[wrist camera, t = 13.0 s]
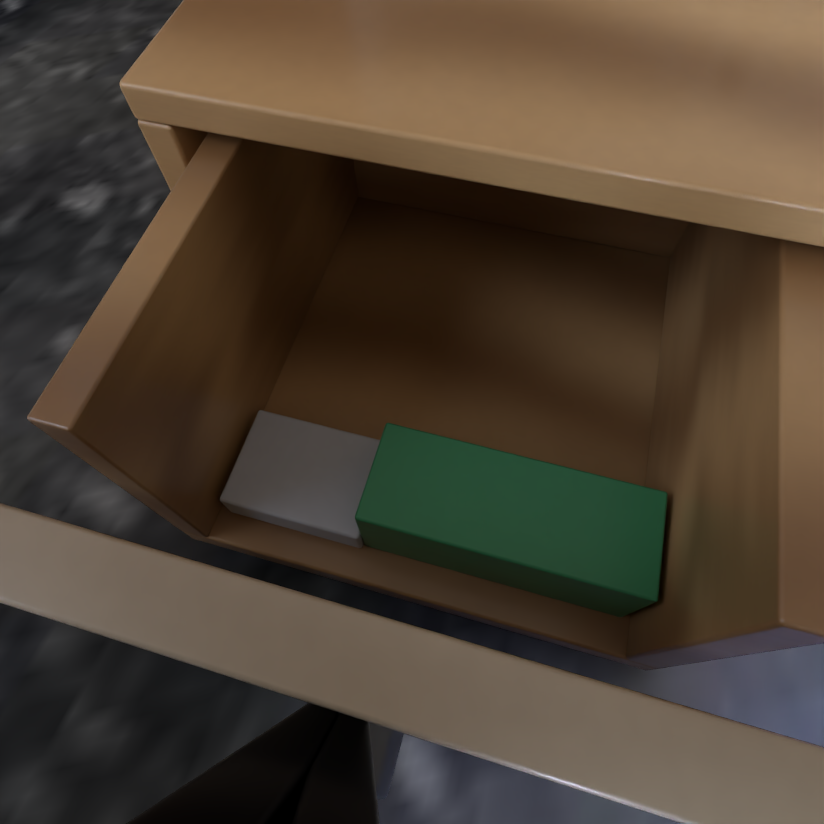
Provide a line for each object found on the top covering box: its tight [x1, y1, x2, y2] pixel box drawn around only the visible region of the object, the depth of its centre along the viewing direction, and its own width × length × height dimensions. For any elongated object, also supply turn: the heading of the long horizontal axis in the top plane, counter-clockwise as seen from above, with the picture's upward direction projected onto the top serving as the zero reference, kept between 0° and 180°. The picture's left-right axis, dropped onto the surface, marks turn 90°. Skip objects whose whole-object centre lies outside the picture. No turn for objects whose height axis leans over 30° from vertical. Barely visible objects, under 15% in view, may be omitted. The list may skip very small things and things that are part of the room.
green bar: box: [220, 410, 668, 617], centre depth 14 cm, size 10×3×2 cm, turn 74°
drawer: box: [0, 132, 824, 824], centre depth 14 cm, size 17×13×8 cm
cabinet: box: [120, 0, 824, 247], centre depth 18 cm, size 17×15×10 cm
